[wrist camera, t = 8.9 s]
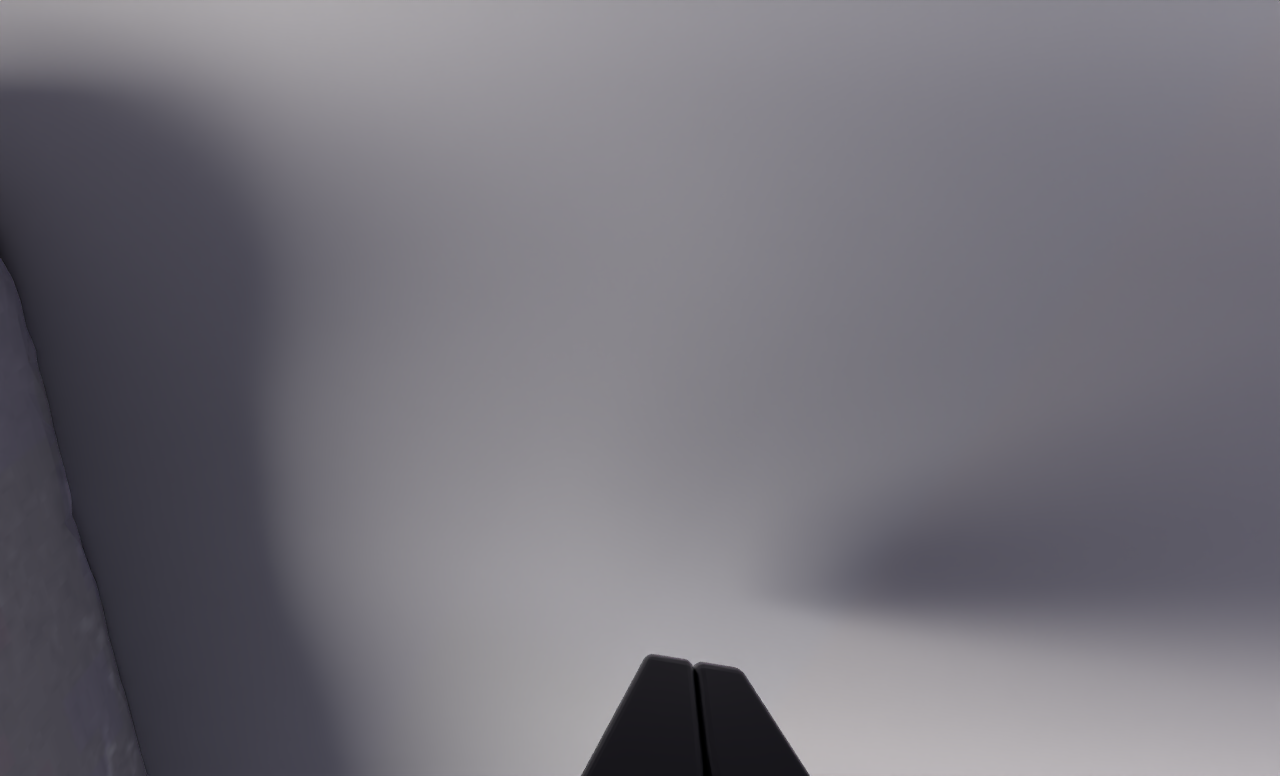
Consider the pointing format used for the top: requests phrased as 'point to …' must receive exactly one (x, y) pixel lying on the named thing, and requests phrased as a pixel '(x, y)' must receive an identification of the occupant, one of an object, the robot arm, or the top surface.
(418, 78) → the top surface
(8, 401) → the stone block
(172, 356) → the top surface
